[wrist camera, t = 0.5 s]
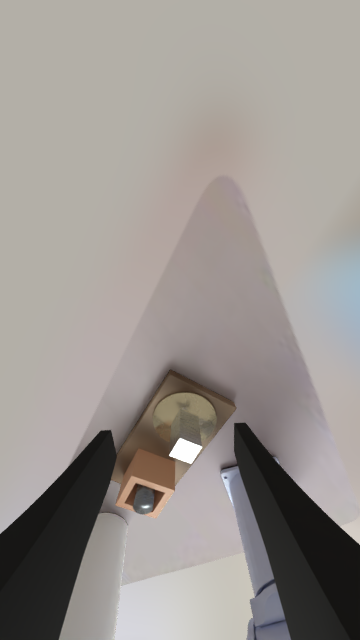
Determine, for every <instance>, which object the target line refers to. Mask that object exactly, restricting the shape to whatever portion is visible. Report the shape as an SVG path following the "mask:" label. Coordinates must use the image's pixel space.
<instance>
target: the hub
mask: <svg viewBox="0 0 360 640" xmlns="http://www.w3.org/2000/svg"><path fill="white" fill-rule="evenodd" d="M216 422H217V417H216V412H215V409H214V407H213V406H212V404H211V403H210V402H209V401H208V400H207V399H206V398H204V397H203V396H201V395H199V394H196V393H192V392H178V393H174V394H171V395H169V396H167V397H165V398H164V399H162V400H161V401H160V402H159V403H158V405H157V406H156V408H155V410H154V414H153V425H154V428H155V430H156V432H157V433H158V434H159V435H160V436H161V437H162V438H163V439H164V440H166V441H168V442H170V452H169V456H172V457H174V458H177V459H180V460H182V461H185V462H188V463H192V461H193V460H194V458H195V457H196V455H197V454H198V452H199V451H200V449H201V448H202V441H203V440H205V439H206V438H208V437H209V436H210V435H211V434H212V432H213V431H214V429H215V426H216Z"/></svg>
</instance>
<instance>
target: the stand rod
mask: <svg viewBox="0 0 360 640" xmlns="http://www.w3.org/2000/svg"><path fill="white" fill-rule="evenodd" d="M154 495H155V489H152V488H149V487H147V486H144V485H141V484H138V485H137V489H136V494H135V499H134V504H133V509H134V511H135V512H137V513H139V514H148V513H150V512H151V511H152V510H153V504H154Z"/></svg>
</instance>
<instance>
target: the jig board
mask: <svg viewBox="0 0 360 640" xmlns="http://www.w3.org/2000/svg"><path fill="white" fill-rule="evenodd" d="M178 392H192V393H196V394H199V395H201V396H203V397H204V398H206V399H207V400H208V401H209V402H210V403H211V404H212V406H213V407H214V409H215V412H216V417H217V422H216V426H215V429H214V431H213V432H212V434H211V435H210V436H209V437H208V438H206V439H205V440H203V441H202V448H201V449H200V451H199V452H198V454H197V455H196V457H195V458H194V460H193V461H192V463H188V462H185V461H182V460H180V459H177V458H174V457H172V456H169V452H170V442H168V441H166V440H164V439H163V438H162V437H161V436H160V435H159V434H158V433H157V432H156V430H155V428H154V425H153V414H154V410H155V408H156V406H157V405H158V403H159V402H160V401H161V400H162V399H164V398H165V397H167V396H169V395H171V394H174V393H178ZM235 410H236V406H235V404H234V402H232V401H230V400H228V399H226V398H225V397H223V396H221V395H219V394H217V393H215V392H213V391H211V390H209V389H207V388H205V387H203V386H201V385H199V384H197V383H195V382H194V381H192V380H190V379H188V378H186V377H184V376H182V375H180V374H178V373H176V372H174V371H172V370H170V371H169V372H168V374H167V375H166V377H165V379H164V380H163V382H162V383H161V385H160V387H159V388H158V390H157V391H156V393H155V395H154V396H153V398H152V399H151V401H150V403H149V404H148V406H147V407H146V409H145V410H144V412H143V414H142V415H141V417H140V418H139V420H138V422H137V423H136V425H135V426H134V428H133V430H132V431H131V433H130V434H129V436H128V438H127V439H126V441H125V442H124V444H123V445H122V447H121V449H120V450H119V452H118V453H117V455H116V456H117V459H116V462H115V466H114V470H113V474H112V477H111V480H113V481H115V482H118V483H120V484H122V480H123V477H124V474H125V472H126V471H127V469H128V467H129V465H130V463H131V461H132V459H133V458H134V456H135V454H136V452H137V450H138V448H139V449H142V450H145V451H147V452H150V453H153V454H155V455H158V456H161V457H164V458H166V459H169V460H172V461H174V462H175V486H176V484H177V483H178V482H179V481H180V479H181V478H182V477H183V476H184V474H185V473H186V472H187V470H188V469H189V468H190V467H191V465H192V464H193V463H194V462H195V460H196V459H197V458H198V457H199V455H200V454H201V453H202V451H203V450H204V449H205V448H206V446H207V445H208V444H209V443H210V441H211V440H212V439H213V438H214V436H215V435H216V434H217V432H218V431H219V430H220V429H221V427H222V426H223V425H224V424H225V422H226V421H227V420H228V419H229V417H230V416H231V415H232V414H233V412H234V411H235Z"/></svg>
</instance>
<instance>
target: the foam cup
mask: <svg viewBox="0 0 360 640" xmlns="http://www.w3.org/2000/svg"><path fill="white" fill-rule="evenodd" d="M127 531H128V524H127V523H126V521H125V520H124V519H123V518H122V517H120V516H118V515H116V514H112V513H99V514H98V517H97V519H96V522H95V525H94V527H93V530H92V533H91V536H90V538H89V541H88V544H87V547H86V550H85V553H84V556H83V559H82V562H81V565H80V569H79V572H78V575H77V579H76V582H75V585H74V589H73V592H72V595H71V599H70V602H69V606H68V609H67V613H66V616H65V620H64V623H63V627H62V630H61V634H60V637H59V640H114V637H115V630H116V629H115V628H116V621H117V613H118V605H119V597H120V589H121V581H122V573H123V565H124V557H125V549H126V540H127Z"/></svg>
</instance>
